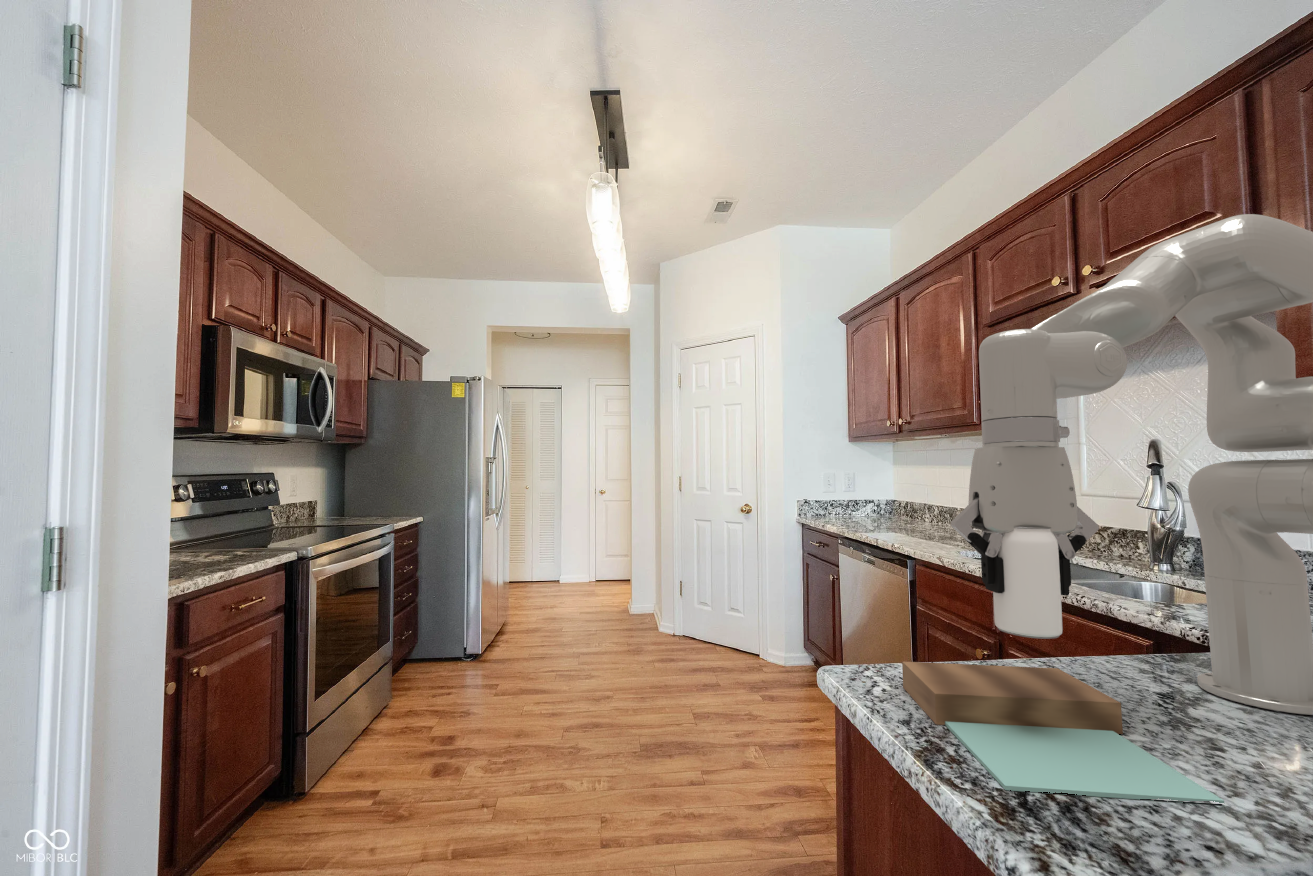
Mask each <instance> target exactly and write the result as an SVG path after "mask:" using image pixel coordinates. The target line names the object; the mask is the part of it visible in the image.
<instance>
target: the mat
mask: <svg viewBox="0 0 1313 876" xmlns="http://www.w3.org/2000/svg"><path fill="white" fill-rule="evenodd" d="M944 726H945V727H947V729H948V730H949V731H950V732H951V734H953V736H955V738H956V739H957V740H958V741H959V742H960V743H961V744H962V745H963V746H964V747H965V748H966V749H967V750H968V751H969V753H970V754H971V755H972V756H973V757H974V758H975V759H976V760H977V761H978V762H979V763H980V764H981V765H982V766H983V768H984V769H985V770H986V771H987V772H988V773H989V774H990V776H991V777H993V778H994V780H995V781H997V783H998V784H999V785H1000V786H1001V787H1002V788H1003V789H1004V791H1008V792H1009V791H1010V790H1011V791H1010V792H1012V791H1013V792H1025V791H1030V792H1029V793H1038V792H1042V793H1041V794H1044V793H1043V792H1048V793H1047V794H1053V793H1055V792H1056V793H1061V792H1062V793H1068V794H1075V795H1074V796H1082V795H1086V796H1085V797H1097V798H1113V799H1126V800H1138V801H1139V800H1140V799H1158V798H1159V799H1169V800H1170V799H1171V800H1178V801H1179V800H1180V801H1213V802H1214V801H1215V802H1219V803H1224V804H1225V800H1224V799H1223V798H1221V797H1219V796H1218V795H1216V794H1215V793H1213V792H1212V791H1209V790H1208V789H1207V788H1205V787H1203V786H1202V785H1201V784H1198V782H1195V781H1194V780H1192V779H1190V778H1189V777H1187V776H1186V775H1184V774H1183V773H1182V772H1179V771H1178V770H1176V769H1174V768H1173V767H1171V766H1170V765H1168V764H1166V763H1165V762H1163V761H1162V760H1160V759H1159V758H1157V757H1155V756H1154V755H1153V754H1151V753H1150V752H1148V751H1146V750H1144V749H1143V748H1141V747H1140V746H1138V745H1137V744H1135V743H1133V742H1132V741H1131V740H1128V739H1127V738H1125V737H1124V736H1123V735H1119V734H1117V733H1116V732H1114V731H1107V730H1089V729H1071V728H1054V727H1036V726H1018V725H1000V724H982V723H964V722H946V721H945V725H944ZM1049 792H1050V793H1049ZM1076 794H1077V795H1076ZM1140 801H1141V800H1140ZM1225 805H1226V804H1225Z"/></svg>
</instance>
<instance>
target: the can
mask: <svg viewBox="0 0 1313 876" xmlns="http://www.w3.org/2000/svg"><path fill="white" fill-rule="evenodd" d="M1014 528H1015V529H1014V531H1011V532H1009V533H1005V535H1004V537H1003V539H1002V544H1001V546H1000V549H999V551H998V557H1000V558H1002V559H1003V565H1004V589H1005V591H1004V592H1003V593H996V592H993V591H992V596H993V619H994V625H995V626H996V627H997V629H998V630H999V631H1000V632H1002V633H1006V634H1010V635H1013V636H1019V637H1022V638H1023V637H1024V638H1031V639H1040V640H1041V639H1043V640H1044V639H1046V640H1048V639H1049V640H1050V639H1058V638H1059V637H1060V636H1061V635H1062V634H1063V614H1062V613H1063V611H1062V610H1063V609H1062V608H1063V607H1062V595H1061V588H1060V569H1059V552H1058V542H1057V539H1056V537H1055V536H1054V534H1053V533H1052V532H1051V530H1050V529H1051V527H1014Z"/></svg>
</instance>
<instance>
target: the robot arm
mask: <svg viewBox="0 0 1313 876" xmlns="http://www.w3.org/2000/svg"><path fill="white" fill-rule="evenodd" d="M1311 303H1313V231H1312V230H1308V229H1305V228H1304V227H1300V226H1298V225H1295V224H1293V223H1290V222H1288V221H1285V220H1282V219H1280V218H1275V217H1271V216H1268V215H1265V214H1264V215H1262V214H1257V213H1256V214H1255V213H1252V214H1251V213H1249V214H1248V213H1245V214H1237V215H1233V216H1229V217H1226V218H1224V219H1221V220H1219V221H1215V222H1213V223H1210V224H1208V225H1205V226H1202V227H1199V228H1196V229H1194V230H1190V231H1188V232H1185V233H1182V234H1178V235H1177V236H1174V237H1172V238H1171V237H1170V238H1168V239H1166V240H1164V241H1161V242H1159V243H1157V244H1155V245H1153V246H1152V247H1151V246H1150V248H1148V249H1147V250H1145V251H1144V252H1143V253H1142V254H1141V255H1139V256H1138V257H1137V258H1135V260H1133V261H1132V262H1130V264H1127V266H1126V267H1125V268H1124V269H1123V270H1121V272H1119V273H1118V274H1117V275H1116V276H1115V277H1113V278H1111V280H1109V281H1108V282H1107V283H1106V284H1105V285H1103V286H1102V287H1101V288H1100V289H1098V290H1096V291H1094V292H1092V293H1091V294H1089V295H1087V296H1085V297H1083V298H1082V299H1080V300H1078V301H1076V302H1074V303H1072V304H1071V305H1070V306H1068V307H1066V308H1065V309H1063V310H1061V311H1059V312H1057V313H1056V314H1053V315H1052V316H1050V317H1048V318H1046V319H1044V320H1043V321H1041V322H1039V323H1038V324H1036V325H1035V326H1033V327H1031V328H1021V329H1020V328H1019V329H1017V328H1016V329H1010V330H1004V331H1000V332H997V333H994V334H991V335H989V336H987V337H985V338H984V339H983V340H982V342H981V343H980V345H979V349H978V364H979V388H980V414H981V416H980V419H981V420H980V421H981V444H982V447H979V448H977V447H976V448H974V452H973V455H972V462H971V469H970V476H969V486H968V487H969V488H968V505H967V506H966V507H964V508H963V509H962V511H960V513H958V514H957V515H956V516H955V517H954V518H953V519H952V520H951V521H950V526H951V527H952V528H953V529H954V531H956V532H957V533H958V534H959V535H960V536H961V537H962V538H964V540H965V541H966V542H967V543H968V544H969V545H970V546H971V547H972V548H973V549H974V550H975V551H976V553H977V554H979V555H980V565H981V566H980V567H981V570H980V571H981V581H982V583H983V584H984V586H985V589H986V590H988V591H990V592H992V593H993V592H996V593H1003V592H1004V591H1005V589H1004V565H1003V559H1002V558H1000V557H998V551H999V549H1000V546H1001V544H1002V539H1003V537H1004V535H1005V533H1009V532H1011V531H1014V529H1015V528H1014V527H1051V529H1050V530H1051V532H1052V533H1053V534H1054V536H1055V537H1056V539H1057V542H1058V552H1059V569H1060V588H1061V596H1069V595H1070V587H1071V585H1072V573H1071V572H1072V571H1071V570H1072V569H1071V560H1074V559H1075V558H1076V556H1077V555H1076V553H1077V552H1078V551H1080V549H1081V548H1082V547H1083V546H1085V545H1086V543H1087V541H1088V540H1089V539H1090V538H1092V537H1093V536H1094V535H1095V534H1096V533H1098V531H1099V529H1100V526H1099V524H1098V523H1097V522H1096V521H1095V520H1093V519H1092V518H1091V516H1089V515H1088V514H1087V513H1086V512H1084V511H1083V510H1082V509H1081V508H1080V507H1079V506H1078V503H1077V501H1078V500H1077V493H1076V486H1075V482H1074V474H1073V471H1072V467H1071V463H1070V460H1069V456H1068V454H1067V450H1066V448H1065V446H1060V445H1059V444H1060V443H1061V439H1067V438H1068V437H1070V433H1071V432H1070V428H1069V427H1068V426H1062V425H1060V420H1059V419H1058V406H1057V405H1058V403H1057V400H1059V399H1068V398H1075V397H1083V396H1088V395H1094V394H1098V393H1101V392H1103V391H1106V390H1107V389H1110V388H1112V387H1113V386H1115V385H1116V384H1117V383H1119V382H1120V381H1121V380H1122V378H1123V377H1124V375H1125V373H1126V370H1127V368H1128V367H1127V366H1128V357H1127V354H1126V351H1125V350H1124V349H1125V347H1127V346H1131V345H1134V344H1135V343H1138V342H1141V341H1143V340H1144V339H1145V340H1146V339H1147V338H1148V337H1151V336H1153V335H1154V334H1156V333H1158V332H1159V331H1160V330H1161V329H1162V328H1163V327H1165V326H1166V324H1167V323H1169V322H1170V321H1171V320H1172V319H1173V318H1174V317H1175V318H1177V321H1179V322H1180V323H1181V324H1182V325H1183V326H1184V327H1185V328H1186V330H1187V331H1188V332H1189V333H1190V334H1191V336H1192V337H1193V338H1194V339H1195V340H1196V341H1197V343H1198V344H1199V345H1200V347H1201V348H1202V350H1203V352H1204V353H1205V357H1206V361H1207V393H1206V395H1207V397H1206V431H1207V436H1208V438H1209V439H1210V441H1211V443H1212V445H1214V446H1216V447H1217V448H1218V449H1220V450H1224V451H1229V452H1237V453H1239V452H1241V453H1269V452H1271V453H1272V452H1291V451H1293V452H1294V451H1313V376H1304V377H1298V378H1297V377H1296V376H1297V373H1296V371H1297V370H1296V351H1295V350H1296V349H1295V347H1294V345H1293V344H1292V343H1291V342H1290V341H1289V339H1287V338H1286V336H1284V335H1282V334H1281V333H1280V332H1278V330H1275V328H1274V329H1273V328H1272V327H1271V326H1268V325H1266V324H1265V323H1263V322H1261V321H1259V320H1257V319H1256V318H1255V317H1253V316H1258V315H1262V314H1267V313H1272V312H1276V311H1281V310H1286V309H1289V308H1293V307H1298V306H1304V305H1306V304H1307V305H1308V304H1311ZM1187 491H1188V492H1187V493H1188V499H1189V504H1190V507H1191V509H1192V512H1193V516H1194V518H1195V521H1196V525H1197V529H1198V532H1199V537H1200V542H1201V543H1200V545H1201V549H1202V557H1203V569H1204V571H1203V572H1204V583H1205V584H1204V586H1205V587H1204V588H1205V597H1206V610H1207V613H1206V614H1207V620H1208V621H1207V623H1208V626H1207V627H1208V637H1209V648H1210V649H1209V650H1210V651H1209V652H1210V662H1211V672H1205V673H1201V674H1198V675H1197V679H1196V680H1197V685H1198V686H1199V687H1200V688H1201V689H1202V690H1204V691H1205V692H1208V693H1210V694H1211V695H1212V694H1213V695H1215V696H1218V697H1220V698H1224V699H1226V700H1229V701H1232V702H1237V703H1239V704H1244V705H1247V706H1253V707H1255V708H1260V709H1265V710H1271V711H1276V712H1283V713H1288V714H1297V715H1310V716H1313V632H1312V631H1313V629H1312V622H1311V621H1312V620H1311V619H1312V617H1311V608H1310V598H1309V597H1310V596H1309V586H1308V576H1307V569H1306V567H1305V564H1304V562H1303V560H1302V558H1301V557H1300V556H1299V554H1298V553H1297V552H1296V551H1295V550H1294V549H1293V548H1292V547H1291V546H1290V545H1289V544H1288V543H1287V541H1285V540H1284V538H1282V537H1281V536H1280V535H1279V534H1278V533H1281V534H1283V533H1288V534H1290V533H1291V534H1307V535H1313V458H1295V459H1288V458H1287V459H1278V458H1277V459H1275V458H1274V459H1255V460H1254V459H1250V460H1249V459H1248V460H1246V459H1245V460H1231V461H1222V462H1216V463H1212V464H1209V465H1206V466H1204V467H1202V468H1200V469H1198V470H1197V471H1196V472H1195V473H1194V474H1193V475H1192V476H1191V478H1190V480H1189V482H1188V488H1187ZM973 528H975V529H976V530H981V531H982V532H981V534H979V533H977V532H976V531H975V529H973Z"/></svg>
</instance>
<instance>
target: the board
mask: <svg viewBox="0 0 1313 876" xmlns="http://www.w3.org/2000/svg"><path fill="white" fill-rule="evenodd" d="M901 665H902V666H901V667H902V688H903V690H905V691H906V693H907V694H908V695H909V696H910V698H912V699H913V701H915V703H916V704H917V705H918V706H919V708H921V709H922V711H923V712H924V713H925V714H926V715H927V716H928V717H929V718H930V719H931V720H932V721H933V723H934V724H935V725H937V726H939V725H941V726H945V721H946V722H964V723H982V724H1000V725H1018V726H1036V727H1054V728H1071V729H1089V730H1107V731H1114V732H1116V733H1117V734H1123V735H1124V731H1123V730H1124V729H1123V728H1124V727H1123V715H1122V702H1120V701H1119V700H1116V699H1115V698H1113V697H1111V696H1109V695H1108V694H1106V693H1104V692H1102V691H1100V690H1098V689H1096V688H1094V687H1093V686H1091V685H1089V684H1087V683H1085V682H1083V681H1082V680H1080V679H1079V678H1076V677H1074V676H1072V675H1070V674H1068V673H1067V672H1065V671H1064V670H1062V669H1060V668H1058V667H1056V668H1055V667H1038V666H1034V667H1033V666H1013V665H1012V666H1010V665H992V664H991V665H990V664H989V665H987V664H971V663H970V664H969V663H967V664H966V663H945V662H926V661H925V662H921V661H902V662H901Z"/></svg>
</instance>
